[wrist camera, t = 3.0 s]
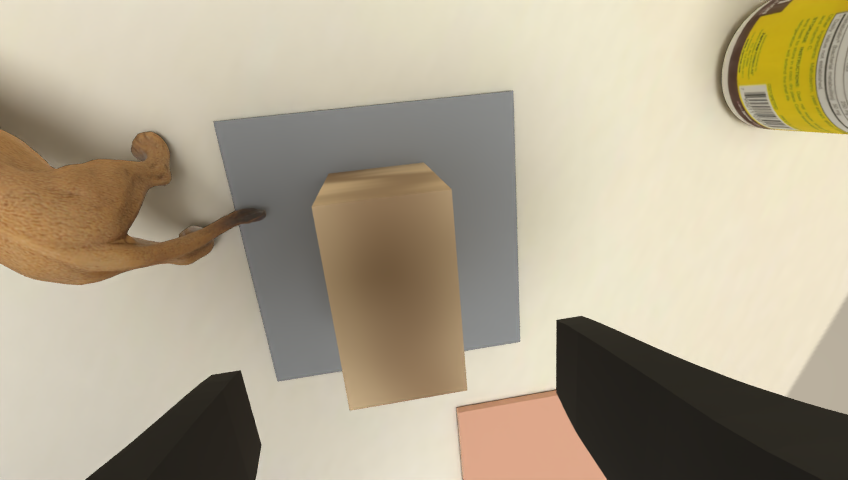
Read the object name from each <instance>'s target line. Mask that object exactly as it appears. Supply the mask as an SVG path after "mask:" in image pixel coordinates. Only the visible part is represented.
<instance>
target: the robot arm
mask: <svg viewBox="0 0 848 480" xmlns="http://www.w3.org/2000/svg"><path fill="white" fill-rule="evenodd" d="M556 393H557V395H558V397H559V399H560V401H561V404H562V406H563V408H564V410H565V412H566V414H567V416H568V418H569V420H570V422H571V424H572V426H573V428H574V430H575V431H576V433H577V435H578V436H579V438H580V439H581V441H582V442H583V444H584V446H585V447H586V449H587V450H588V452H589V453H590V455H591V456H592V458H593V459H594V461H595V462H596V464H597V465H598V467H599V468H600V470H601V471H602V473H603V474H604V476H605V477H606V479H607V480H848V415H847V414H843V413H839V412H836V411H832V410H828V409H824V408H821V407H818V406H814V405H811V404H807V403H804V402H801V401H797V400H794V399H791V398H788V397H785V396H782V395H779V394H776V393H773V392H769V391H766V390H763V389H760V388H757V387H754V386H751V385H748V384H745V383H743V382H740V381H737V380H734V379H731V378H729V377H726V376H724V375H721V374H718V373H716V372H713V371H711V370H708V369H706V368H703V367H700V366H698V365H695V364H693V363H690V362H688V361H686V360H683V359H681V358H678V357H676V356H674V355H671V354H669V353H667V352H664V351H662V350H660V349H657V348H655V347H653V346H651V345H648V344H646V343H644V342H642V341H639V340H637V339H635V338H633V337H630V336H628V335H626V334H624V333H621V332H619V331H617V330H615V329H613V328H610V327H608V326H606V325H603V324H601V323H599V322H596V321H594V320H591V319H589V318H586V317H583V316H578V317H572V318H566V319H560V320H557V345H556ZM260 450H261V442H260V438H259V435H258V431H257V428H256V424H255V420H254V417H253V413H252V410H251V406H250V402H249V399H248V395H247V392H246V388H245V385H244V381H243V377H242V374H241V370H240V371H234V372H228V373H221V374H215V375H211V376H210V377H208V378H207V379H206V380H204V381H203V382H202V383H201V384H199V385H198V386H197V387H196V388H194V389H193V390H192V391H191V392H190V393H188V394H187V395H186V396H185V397H184V398H183V399H181V400H180V401H179V402H178V403H177V404H176V405H174V406H173V407H172V408H171V409H170V410H169V411H168V412H166V413H165V414H164V415H163V416H162V417H161V418H159V419H158V420H157V421H156V422H155V423H154V424H152V425H151V426H150V427H149V428H148V429H147V430H145V431H144V432H143V433H142V434H141V435H140V436H138V437H137V438H136V439H135V440H134V441H133V442H131V443H130V444H129V445H128V446H127V447H125V448H124V449H123V450H122V451H120V452H119V453H118V454H117V455H115V456H114V457H113V458H112V459H110V460H109V461H108V462H107V463H105V464H104V465H103V466H102V467H100V468H99V469H98V470H97V471H95V472H94V473H93V474H92V475H91V476H89V477H88V478H87V479H86V480H255V479H256V474H257V468H258V462H259V456H260Z"/></svg>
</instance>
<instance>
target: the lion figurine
mask: <svg viewBox="0 0 848 480" xmlns="http://www.w3.org/2000/svg"><path fill="white" fill-rule="evenodd" d="M131 152H132V154H133V155H134V156H135V157H136V158H137V159H139V160H140V161H142V162H135V161H124V160H110V159H97V160H92V161H89V162H86V163H82V164H73V165H67V166H63V167H61V168H58V169H55V168H53V167H51V166H50V165H49V164H48V163H47V162H46V161H45V160H44V159H43V158H42V157H41V156H40V155H39V154H38V153H36V152H35V151H34V150H33V149H31V148H30V147H29V146H28V145H27V144H26V143H24V142H23V141H22V140H20V139H18V138H17V137H15V136H13V135H11V134H9V133H7V132H5V131H3V130H1V129H0V264H2V265H4V266H6V267H8V268H10V269H12V270H14V271H16V272H18V273H20V274H22V275H24V276H26V277H29V278H32V279H36V280H41V281H48V282H55V283H63V284H73V285H83V284H89V283H95V282H99V281H102V280H105V279H108V278H110V277H113V276H115V275H118V274H120V273H123V272H126V271H129V270H133V269H137V268H143V267H148V266H152V265H157V264H166V263H170V264H176V265H189V264H191V263H193V262H195V261H197V260H198V259H200V258H202V257H203V256H205V255H207V254H208V253H210V252H211V250H212V248H213V246H214V238H216V237H217V236H219V235H220V234H222V233H224V232H226V231H227V230H229V229H231V228H233V227H235V226H238V225H240V224H250V223H252V222H257V221H260V220H263V219H264V218H265V217H266V211H265V210H260V209H255V208H246V209H240V210H236V211H234V212H232V213H231V214H229V215H227V216H224V217H222V218H220V219H219V220H217V221H215V222H214V223H212V224H210V225H208V226H206V227H204V228H202V227H199V226H190V227H188V228H186V229H185V230H184V231H182V232H181V233H180V234H179V238H175V239H172V240H169V241H165V242H154V241H148V240H144V239H140V238H134V237H130V236H129V235H128V234H127V232H128V230H129V228H130V227H131V225H132V223H133V222H134V220H135V218H136V217H137V215H138V213H139V210H140V208H141V206H142V203H143V201H144V198H145V195H146V193H147V191H148V190H149V189H150V188H152V187H154V186H165V185H167V184H169V182H170V181H171V172H170V167H169V160H170V152H169V149H168V146H167V144H166V143H165V142H164V140H163V139H162V138H161V137H160V136H159V135H157V134H155V133H153V132H143V133H139V134H138V135H137V136H136V137H135V139H134V140H133V142H132V147H131Z"/></svg>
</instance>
